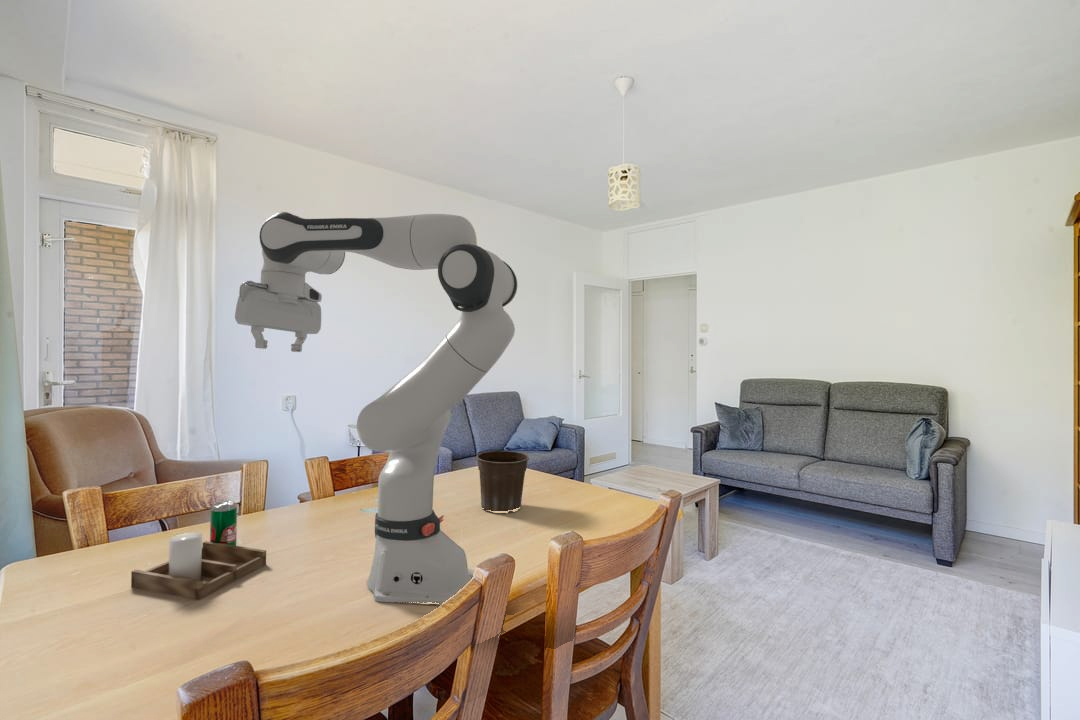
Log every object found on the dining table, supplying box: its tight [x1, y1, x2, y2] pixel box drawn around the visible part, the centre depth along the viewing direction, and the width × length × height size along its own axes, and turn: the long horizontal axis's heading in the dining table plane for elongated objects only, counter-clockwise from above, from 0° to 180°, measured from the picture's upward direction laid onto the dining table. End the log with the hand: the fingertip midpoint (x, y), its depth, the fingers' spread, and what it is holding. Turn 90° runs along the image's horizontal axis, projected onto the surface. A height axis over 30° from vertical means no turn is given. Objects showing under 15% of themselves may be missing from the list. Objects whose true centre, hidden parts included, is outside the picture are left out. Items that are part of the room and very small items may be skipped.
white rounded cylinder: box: [168, 532, 203, 581], centre depth 96 cm, size 5×5×9 cm
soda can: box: [209, 500, 238, 546], centre depth 112 cm, size 5×5×12 cm
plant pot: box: [476, 450, 530, 511], centre depth 152 cm, size 16×16×16 cm
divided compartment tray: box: [130, 540, 267, 601], centre depth 100 cm, size 16×16×4 cm
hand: (279, 350), depth 110 cm, fingers open, 8 cm apart
